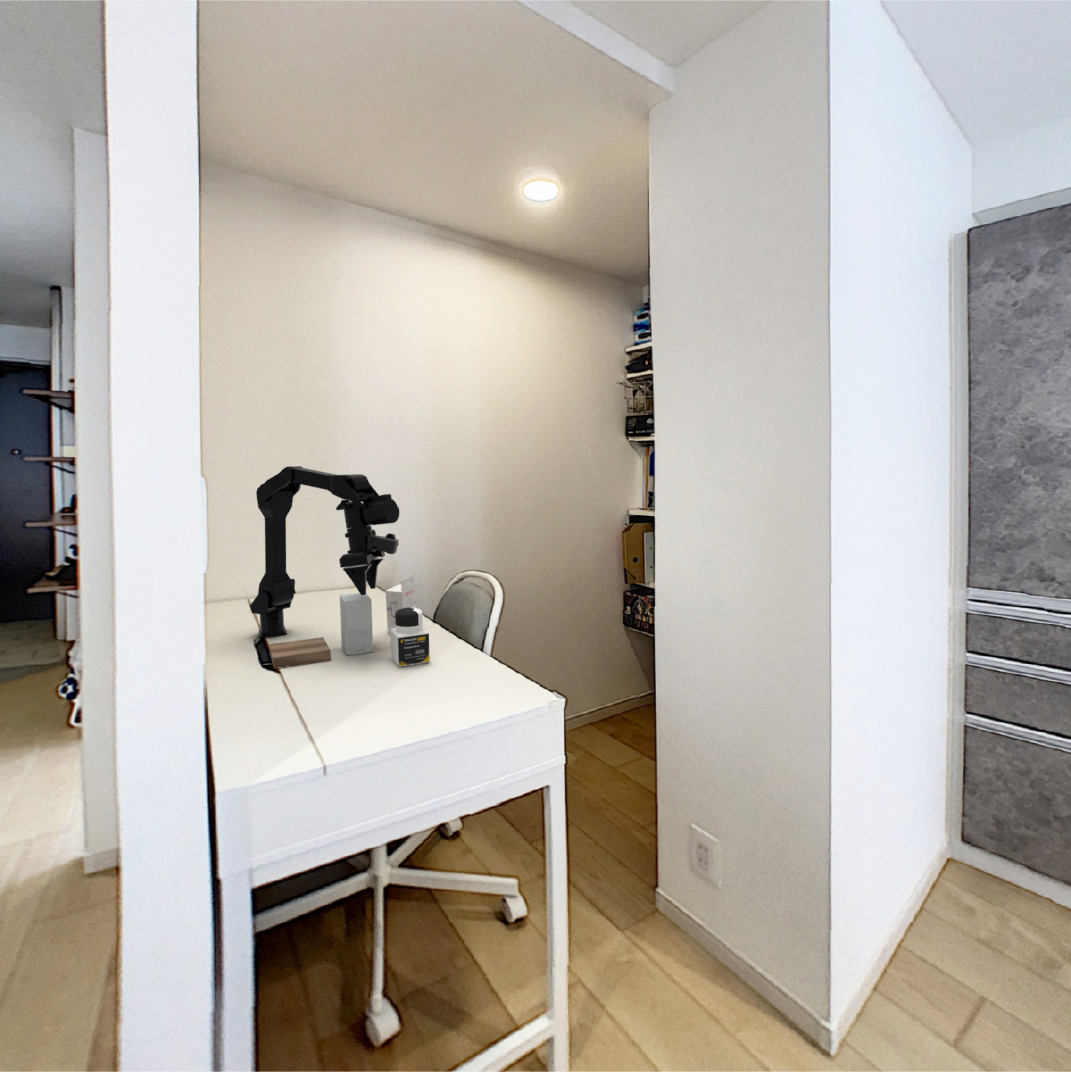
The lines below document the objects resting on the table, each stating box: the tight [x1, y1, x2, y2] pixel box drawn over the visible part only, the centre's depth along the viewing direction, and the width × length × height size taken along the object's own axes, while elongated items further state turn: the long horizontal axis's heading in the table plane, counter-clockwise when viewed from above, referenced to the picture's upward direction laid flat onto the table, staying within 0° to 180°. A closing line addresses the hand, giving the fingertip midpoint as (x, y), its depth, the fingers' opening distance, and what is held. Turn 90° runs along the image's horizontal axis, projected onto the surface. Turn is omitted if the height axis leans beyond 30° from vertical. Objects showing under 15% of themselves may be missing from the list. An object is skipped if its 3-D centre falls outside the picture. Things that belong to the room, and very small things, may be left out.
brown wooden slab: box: [268, 636, 332, 670], centre depth 138 cm, size 11×12×2 cm
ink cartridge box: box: [385, 573, 417, 635], centre depth 160 cm, size 9×5×15 cm, turn 168°
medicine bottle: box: [389, 607, 430, 668], centre depth 136 cm, size 7×7×12 cm
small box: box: [339, 592, 374, 656], centre depth 144 cm, size 8×6×13 cm
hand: (368, 591), depth 143 cm, fingers open, 9 cm apart
